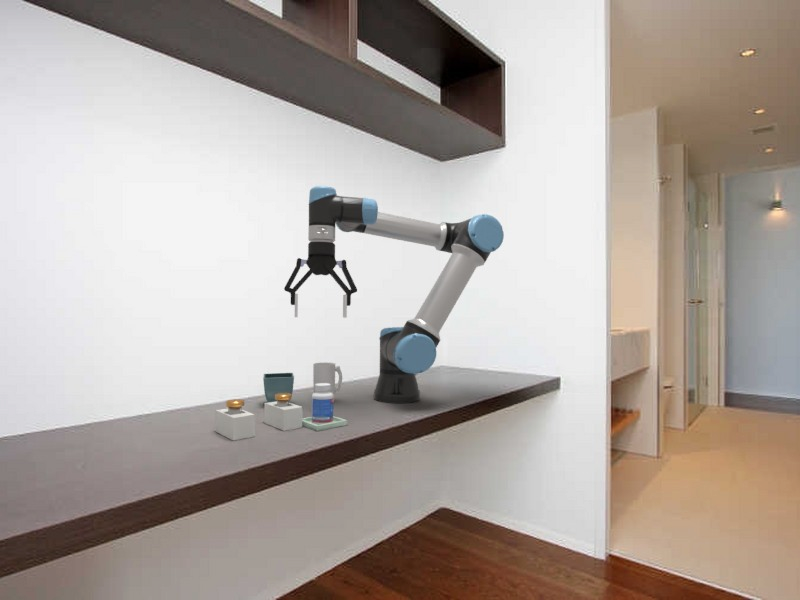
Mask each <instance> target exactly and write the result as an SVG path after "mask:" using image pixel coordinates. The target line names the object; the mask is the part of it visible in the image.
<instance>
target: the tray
mask: <svg viewBox="0 0 800 600" xmlns="http://www.w3.org/2000/svg"><path fill="white" fill-rule="evenodd" d="M344 426H348V420H347V419H344V418H341V417H339V416H334V415H333V422H332V423H326V424H321V425H317V424H314V423H312V416H307V417H304V418H303V417H302V427H305V428H307V429H309V430H313V431H316V432H321V431H325V430H331V429H335V428H340V427H344Z"/></svg>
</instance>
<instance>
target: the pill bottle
mask: <svg viewBox="0 0 800 600" xmlns="http://www.w3.org/2000/svg"><path fill="white" fill-rule="evenodd" d="M315 390H316V392H315V393H314V392H312V395H311V417H312V423H314V424H317V425H321V424H326V423H332V422H333V416H334V403H333V394H332V393H331V392H330V390H331V384H329V383H318V384H315Z"/></svg>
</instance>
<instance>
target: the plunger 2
mask: <svg viewBox="0 0 800 600" xmlns="http://www.w3.org/2000/svg"><path fill="white" fill-rule="evenodd" d="M292 397H293V393H292V394H290V393H279V394H275V399H276V400H277V406H278V407H286V406H289V403H290V401H289V399H290V400H292Z"/></svg>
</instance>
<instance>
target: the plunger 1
mask: <svg viewBox="0 0 800 600" xmlns="http://www.w3.org/2000/svg"><path fill="white" fill-rule="evenodd" d="M243 406H245V400H244V399H237V398H235V399H227V400H226V401H225V407H226V408H228V414H229V415H234V414H241V413H242V410H243Z"/></svg>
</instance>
